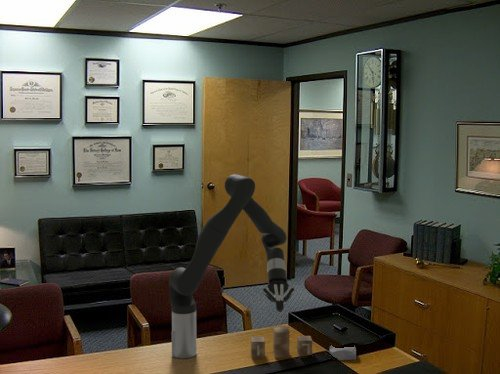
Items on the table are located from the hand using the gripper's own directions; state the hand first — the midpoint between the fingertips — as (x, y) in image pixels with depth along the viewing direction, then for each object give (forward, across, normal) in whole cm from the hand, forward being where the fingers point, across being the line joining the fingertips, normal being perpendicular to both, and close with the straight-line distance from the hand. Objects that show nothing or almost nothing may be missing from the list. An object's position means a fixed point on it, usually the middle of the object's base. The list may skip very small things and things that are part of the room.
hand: (280, 311), depth 222 cm
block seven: (+14, +9, +9) cm, 19 cm away
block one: (+14, -9, +9) cm, 19 cm away
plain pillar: (+14, 0, +9) cm, 17 cm away
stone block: (+15, +23, +9) cm, 29 cm away
